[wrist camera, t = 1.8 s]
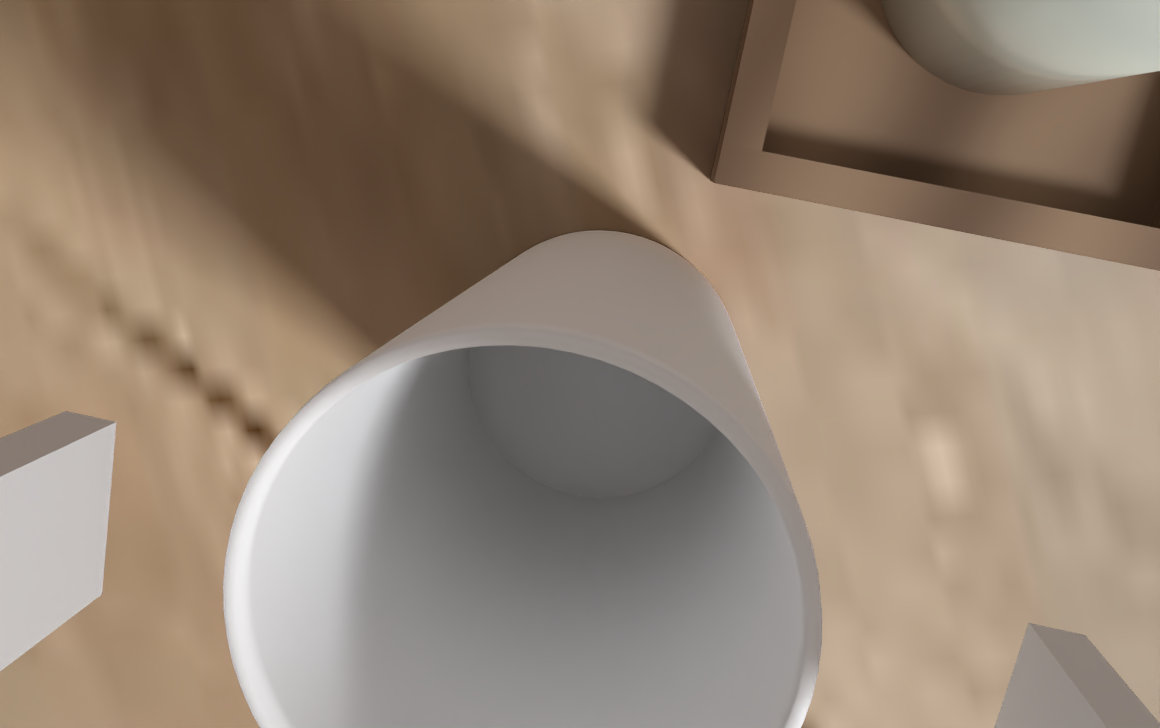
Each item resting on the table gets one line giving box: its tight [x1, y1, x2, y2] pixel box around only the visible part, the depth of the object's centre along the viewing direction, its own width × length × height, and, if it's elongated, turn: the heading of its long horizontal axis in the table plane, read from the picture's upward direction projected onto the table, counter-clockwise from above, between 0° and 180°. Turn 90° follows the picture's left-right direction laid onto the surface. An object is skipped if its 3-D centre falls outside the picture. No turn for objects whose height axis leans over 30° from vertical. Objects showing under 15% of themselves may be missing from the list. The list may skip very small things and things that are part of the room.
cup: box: [223, 230, 822, 728], centre depth 21 cm, size 8×8×16 cm
